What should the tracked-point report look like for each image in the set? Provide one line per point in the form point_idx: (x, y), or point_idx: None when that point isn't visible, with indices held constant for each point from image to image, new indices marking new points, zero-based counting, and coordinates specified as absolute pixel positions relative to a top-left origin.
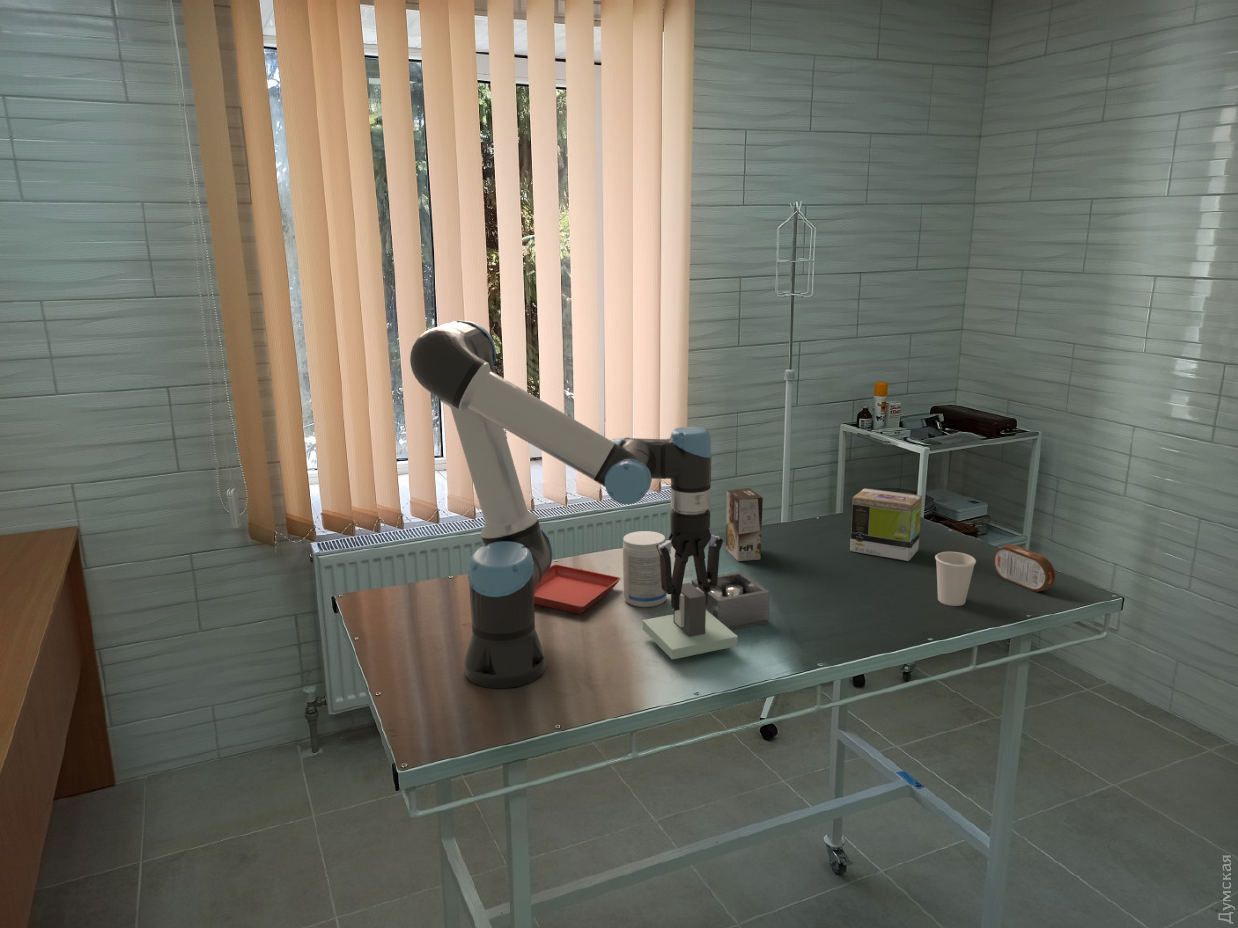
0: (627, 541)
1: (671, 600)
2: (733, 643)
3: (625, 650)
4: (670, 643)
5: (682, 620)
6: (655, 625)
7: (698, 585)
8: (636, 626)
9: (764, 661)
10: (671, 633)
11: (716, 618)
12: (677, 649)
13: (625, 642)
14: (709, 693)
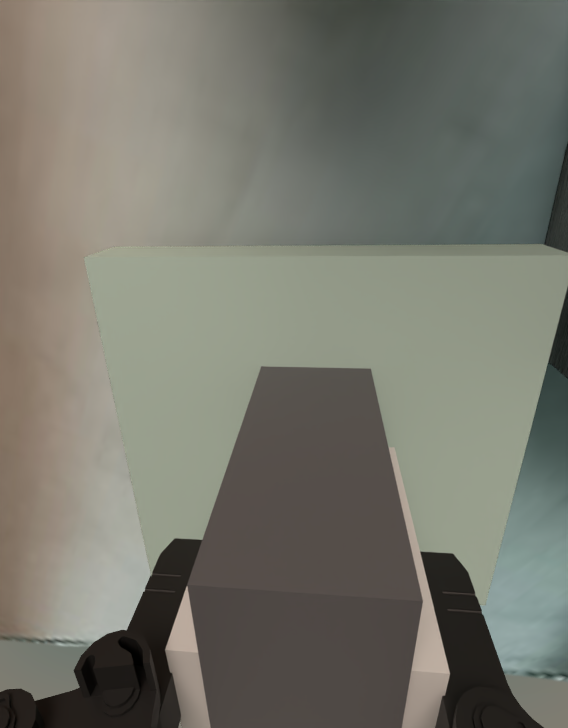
0: None
1: (141, 606)
2: None
3: (34, 329)
4: (162, 542)
5: None
6: (145, 359)
7: (455, 714)
8: (138, 73)
9: (513, 596)
10: (200, 470)
11: (565, 356)
12: None
13: (44, 254)
14: None
